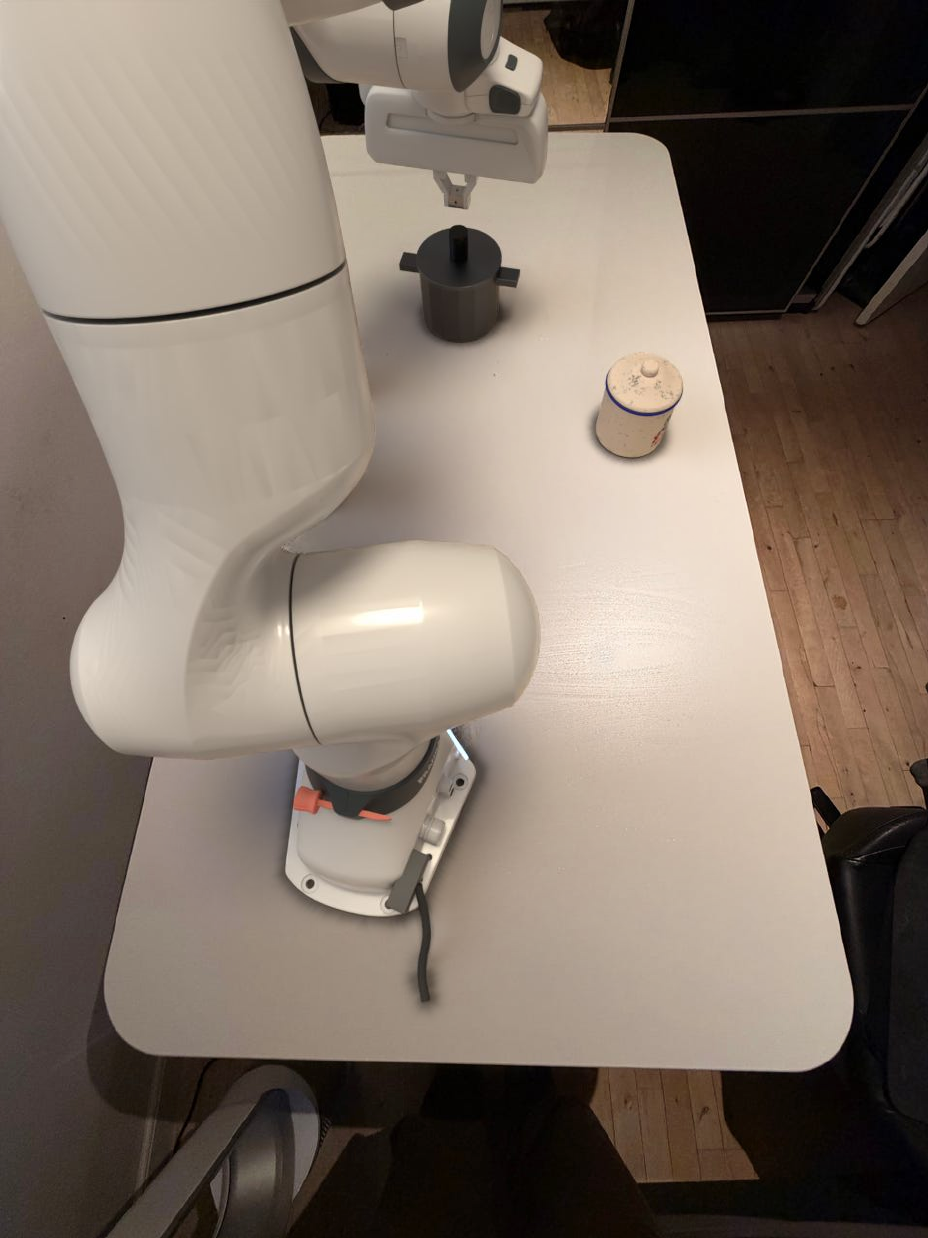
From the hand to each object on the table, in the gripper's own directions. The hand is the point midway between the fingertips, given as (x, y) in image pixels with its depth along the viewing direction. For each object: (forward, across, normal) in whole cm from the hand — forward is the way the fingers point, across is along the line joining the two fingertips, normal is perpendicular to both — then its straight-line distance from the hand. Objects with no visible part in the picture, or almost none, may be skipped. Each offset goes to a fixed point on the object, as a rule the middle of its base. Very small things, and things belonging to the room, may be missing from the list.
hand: (457, 204), depth 77 cm
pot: (+16, 0, 0) cm, 16 cm away
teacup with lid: (+16, +26, -14) cm, 34 cm away
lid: (+8, 0, 0) cm, 8 cm away
